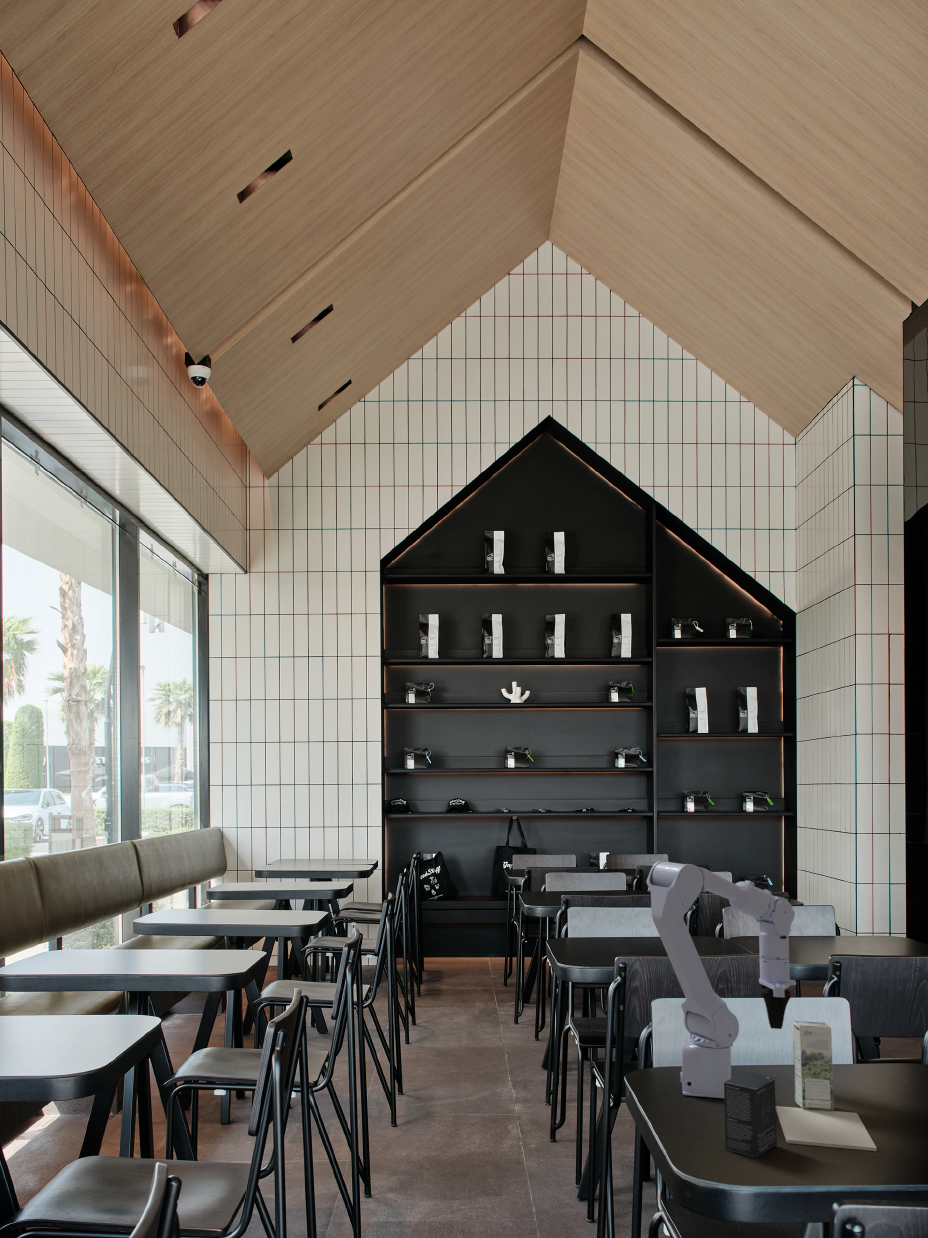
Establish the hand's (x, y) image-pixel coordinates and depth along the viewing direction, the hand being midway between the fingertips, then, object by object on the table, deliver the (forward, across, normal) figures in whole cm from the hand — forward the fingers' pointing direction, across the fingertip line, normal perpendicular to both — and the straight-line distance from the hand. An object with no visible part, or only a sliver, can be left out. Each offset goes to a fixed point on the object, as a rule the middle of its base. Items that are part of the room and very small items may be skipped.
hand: (775, 1028), depth 201 cm
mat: (+10, -26, -5) cm, 28 cm away
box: (+11, -39, +8) cm, 41 cm away
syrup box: (+10, -15, -5) cm, 19 cm away
